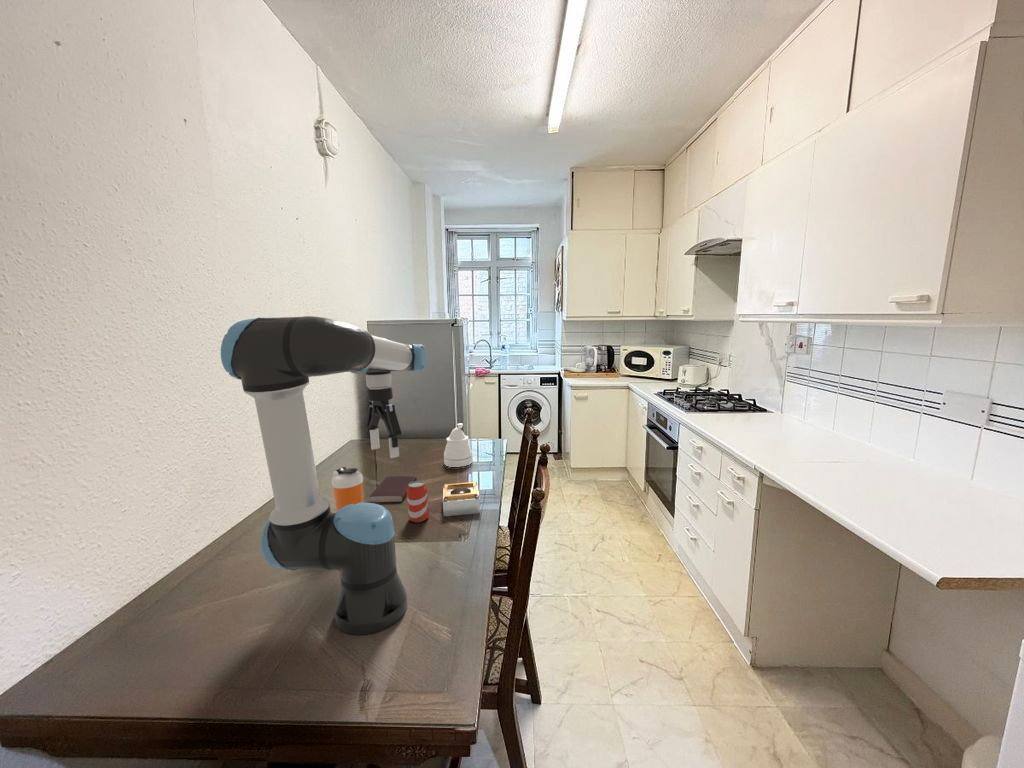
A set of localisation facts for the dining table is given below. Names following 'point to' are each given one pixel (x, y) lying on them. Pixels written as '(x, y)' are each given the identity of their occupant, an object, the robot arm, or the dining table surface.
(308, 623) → the dining table surface
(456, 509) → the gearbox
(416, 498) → the beverage can
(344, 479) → the shaker bottle
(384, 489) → the book
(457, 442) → the honey pot
